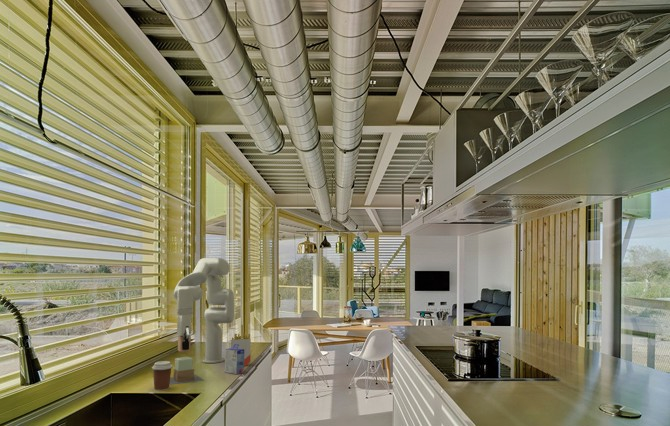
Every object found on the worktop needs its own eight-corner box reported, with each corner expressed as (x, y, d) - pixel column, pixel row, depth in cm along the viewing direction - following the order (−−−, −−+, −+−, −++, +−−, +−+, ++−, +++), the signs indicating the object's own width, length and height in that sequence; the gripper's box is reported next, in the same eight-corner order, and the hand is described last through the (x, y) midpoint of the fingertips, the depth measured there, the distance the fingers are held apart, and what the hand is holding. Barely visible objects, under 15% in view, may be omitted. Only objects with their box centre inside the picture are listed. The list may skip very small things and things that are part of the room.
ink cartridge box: (244, 372, 250) (245, 344, 252) (236, 374, 246) (237, 346, 247) (232, 370, 256) (232, 343, 258) (224, 372, 252) (224, 344, 253)
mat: (163, 379, 238) (163, 378, 238) (195, 375, 246) (195, 374, 246) (170, 385, 224) (170, 384, 224) (204, 381, 232) (204, 380, 232)
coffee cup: (167, 386, 224) (167, 359, 225) (175, 389, 217) (176, 362, 218) (147, 389, 217) (148, 362, 219) (155, 393, 211) (156, 365, 212)
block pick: (177, 350, 237) (178, 336, 238) (187, 349, 240) (188, 335, 241) (180, 351, 233) (180, 337, 234) (190, 350, 236) (190, 336, 237)
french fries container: (230, 365, 270) (231, 333, 272) (250, 364, 272) (250, 332, 274) (230, 367, 265) (231, 334, 267) (250, 365, 268) (250, 333, 270)
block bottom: (173, 378, 236) (173, 368, 237) (189, 376, 240) (189, 366, 241) (177, 382, 230) (177, 371, 230) (193, 379, 234) (194, 369, 234)
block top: (174, 368, 237) (175, 358, 237) (189, 366, 240) (189, 356, 241) (178, 371, 231) (178, 360, 231) (192, 369, 234) (193, 358, 235)
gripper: (173, 311, 244) (172, 347, 242) (181, 313, 230) (180, 352, 227) (188, 310, 248) (187, 346, 246) (197, 312, 234) (196, 350, 231)
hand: (184, 348), depth 237 cm, fingers closed on block pick, 5 cm apart
